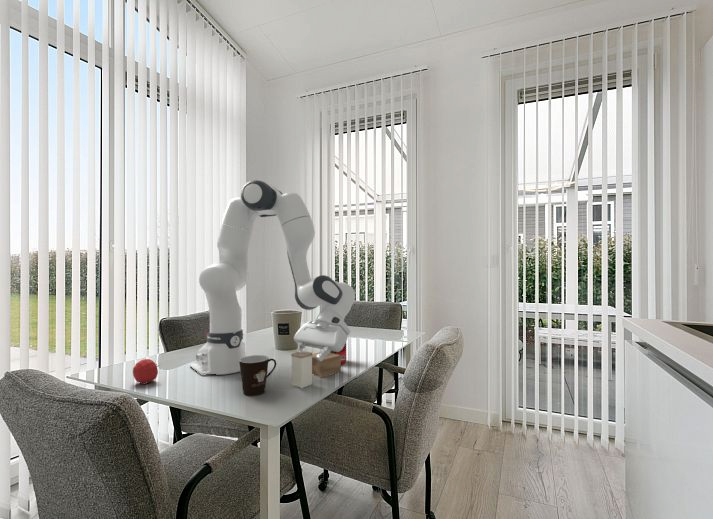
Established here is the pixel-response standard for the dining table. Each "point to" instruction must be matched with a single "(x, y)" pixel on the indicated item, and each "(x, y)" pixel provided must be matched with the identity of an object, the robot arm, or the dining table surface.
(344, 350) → the canned food
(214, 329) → the robot arm
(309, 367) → the pink-rimmed square pillar
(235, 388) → the dining table surface
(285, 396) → the dining table surface
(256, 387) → the coffee mug
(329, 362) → the block
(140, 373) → the tomato
